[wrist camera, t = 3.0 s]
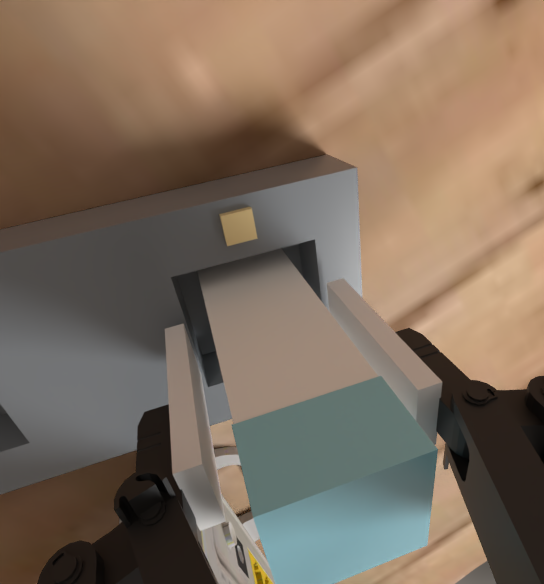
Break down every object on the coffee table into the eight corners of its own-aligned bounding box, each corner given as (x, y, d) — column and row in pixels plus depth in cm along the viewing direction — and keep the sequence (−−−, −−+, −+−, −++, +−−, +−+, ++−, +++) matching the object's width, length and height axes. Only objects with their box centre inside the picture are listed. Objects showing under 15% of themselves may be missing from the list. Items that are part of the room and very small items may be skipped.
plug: (215, 335, 20) (282, 604, 10) (194, 265, 18) (253, 517, 8) (290, 313, 20) (427, 545, 10) (279, 243, 18) (437, 449, 8)
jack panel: (-96, 478, 19) (-138, 545, 17) (-296, 297, 14) (-409, 353, 11) (341, 342, 23) (367, 378, 20) (327, 154, 17) (360, 169, 15)
